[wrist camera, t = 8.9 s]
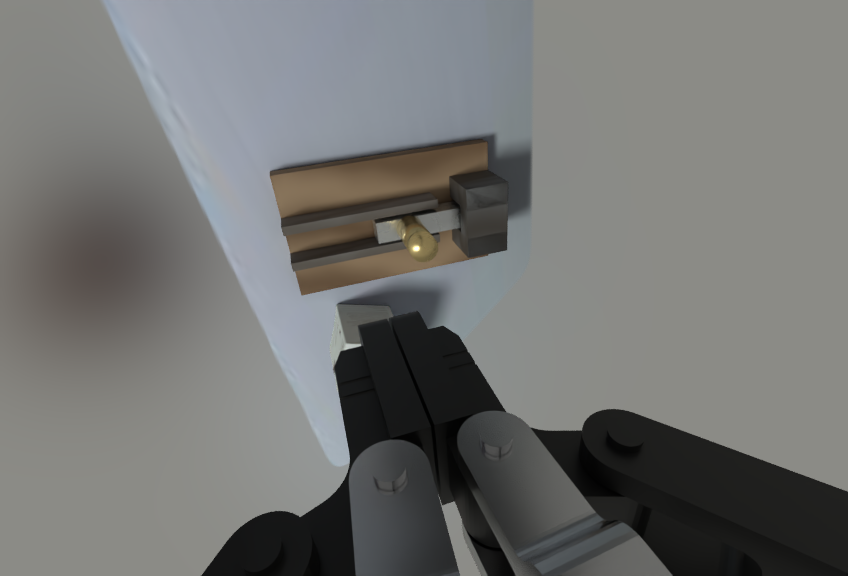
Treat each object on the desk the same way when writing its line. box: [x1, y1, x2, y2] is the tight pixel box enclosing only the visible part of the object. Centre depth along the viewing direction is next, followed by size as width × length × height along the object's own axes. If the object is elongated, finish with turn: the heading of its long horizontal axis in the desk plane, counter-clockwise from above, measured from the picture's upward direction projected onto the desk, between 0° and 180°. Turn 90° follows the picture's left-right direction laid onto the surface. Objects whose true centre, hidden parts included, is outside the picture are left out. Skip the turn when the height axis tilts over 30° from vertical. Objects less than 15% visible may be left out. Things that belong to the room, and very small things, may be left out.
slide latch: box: [373, 201, 461, 262], centre depth 39 cm, size 2×11×7 cm, turn 95°
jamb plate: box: [270, 139, 508, 295], centre depth 41 cm, size 12×20×6 cm, turn 95°
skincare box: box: [330, 304, 394, 391], centre depth 46 cm, size 6×6×7 cm
